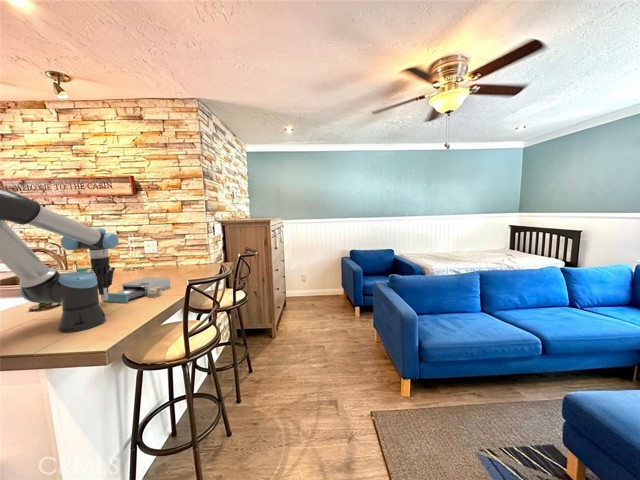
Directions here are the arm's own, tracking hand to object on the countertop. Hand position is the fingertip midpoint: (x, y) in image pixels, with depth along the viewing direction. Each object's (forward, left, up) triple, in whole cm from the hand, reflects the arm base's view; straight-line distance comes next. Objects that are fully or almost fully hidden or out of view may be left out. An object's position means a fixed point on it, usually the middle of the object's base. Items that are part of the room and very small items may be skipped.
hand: (104, 299), depth 134 cm
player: (+26, 0, -3) cm, 26 cm away
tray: (+13, 0, -3) cm, 14 cm away
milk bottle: (+2, +17, -4) cm, 17 cm away
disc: (+12, 0, 0) cm, 12 cm away
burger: (-8, +30, -4) cm, 31 cm away
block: (+18, -14, -3) cm, 23 cm away
